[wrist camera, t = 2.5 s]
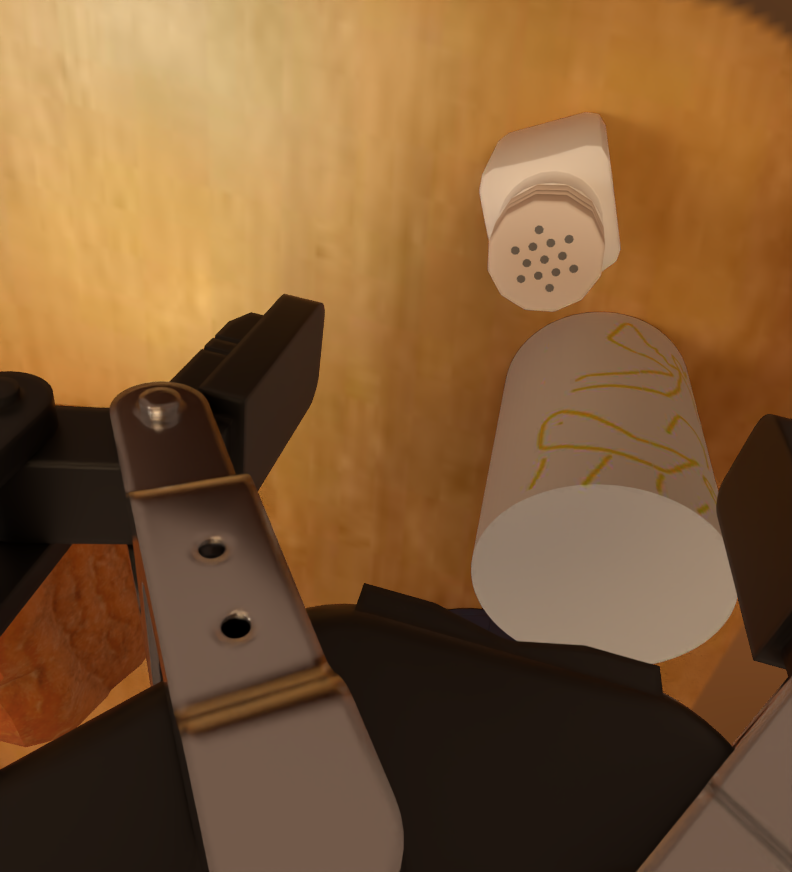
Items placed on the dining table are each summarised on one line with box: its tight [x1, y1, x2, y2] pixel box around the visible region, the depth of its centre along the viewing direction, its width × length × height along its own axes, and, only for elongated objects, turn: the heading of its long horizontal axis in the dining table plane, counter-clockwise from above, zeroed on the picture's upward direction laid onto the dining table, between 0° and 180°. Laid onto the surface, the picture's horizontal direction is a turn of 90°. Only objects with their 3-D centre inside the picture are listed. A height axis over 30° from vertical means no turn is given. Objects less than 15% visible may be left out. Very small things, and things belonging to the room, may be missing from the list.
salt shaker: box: [479, 112, 621, 312], centre depth 22 cm, size 4×4×10 cm
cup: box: [471, 312, 737, 664], centre depth 26 cm, size 8×8×12 cm
